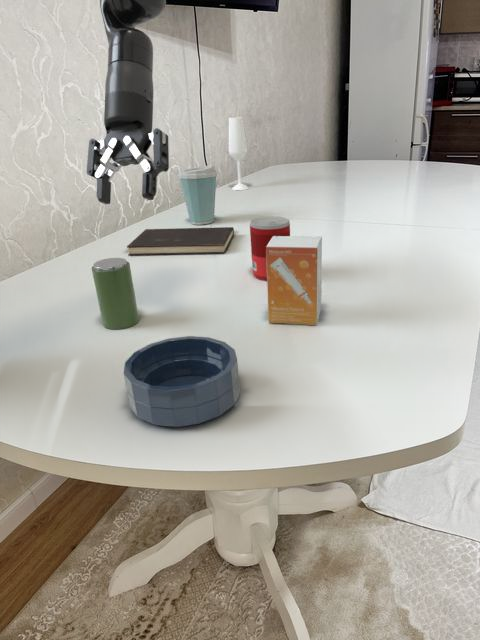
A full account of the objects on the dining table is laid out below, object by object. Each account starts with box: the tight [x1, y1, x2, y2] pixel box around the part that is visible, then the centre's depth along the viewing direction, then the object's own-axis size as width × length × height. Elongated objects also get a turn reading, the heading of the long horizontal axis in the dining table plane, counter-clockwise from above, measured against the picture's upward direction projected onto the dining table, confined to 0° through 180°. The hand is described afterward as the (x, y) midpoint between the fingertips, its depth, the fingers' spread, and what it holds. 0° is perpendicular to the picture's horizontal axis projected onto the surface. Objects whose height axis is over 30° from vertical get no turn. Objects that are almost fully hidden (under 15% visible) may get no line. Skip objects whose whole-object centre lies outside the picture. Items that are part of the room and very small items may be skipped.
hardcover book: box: [126, 226, 235, 257], centre depth 129 cm, size 16×23×2 cm
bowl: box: [123, 335, 241, 428], centre depth 65 cm, size 14×14×6 cm
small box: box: [266, 235, 323, 326], centre depth 84 cm, size 8×6×13 cm
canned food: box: [249, 216, 291, 282], centre depth 104 cm, size 8×8×11 cm
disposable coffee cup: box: [178, 165, 218, 226], centre depth 146 cm, size 11×11×15 cm
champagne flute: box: [228, 116, 250, 191], centre depth 187 cm, size 7×7×24 cm
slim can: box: [91, 257, 140, 330], centre depth 87 cm, size 6×6×10 cm
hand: (125, 201), depth 84 cm, fingers open, 8 cm apart
